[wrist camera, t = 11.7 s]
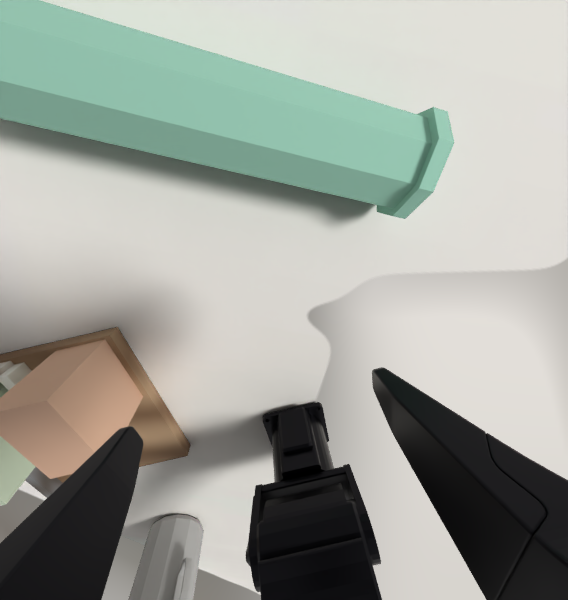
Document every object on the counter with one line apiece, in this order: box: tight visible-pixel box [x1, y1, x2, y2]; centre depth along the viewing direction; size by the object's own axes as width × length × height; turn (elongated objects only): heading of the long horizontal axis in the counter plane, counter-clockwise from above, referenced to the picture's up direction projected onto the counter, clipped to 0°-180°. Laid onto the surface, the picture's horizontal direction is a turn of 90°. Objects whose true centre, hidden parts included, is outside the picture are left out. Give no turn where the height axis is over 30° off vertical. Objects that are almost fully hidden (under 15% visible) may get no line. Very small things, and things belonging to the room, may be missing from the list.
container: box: [0, 0, 454, 219], centre depth 13 cm, size 6×6×25 cm
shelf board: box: [0, 327, 190, 498], centre depth 23 cm, size 16×15×3 cm
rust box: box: [0, 339, 143, 479], centre depth 18 cm, size 4×6×6 cm, turn 12°
